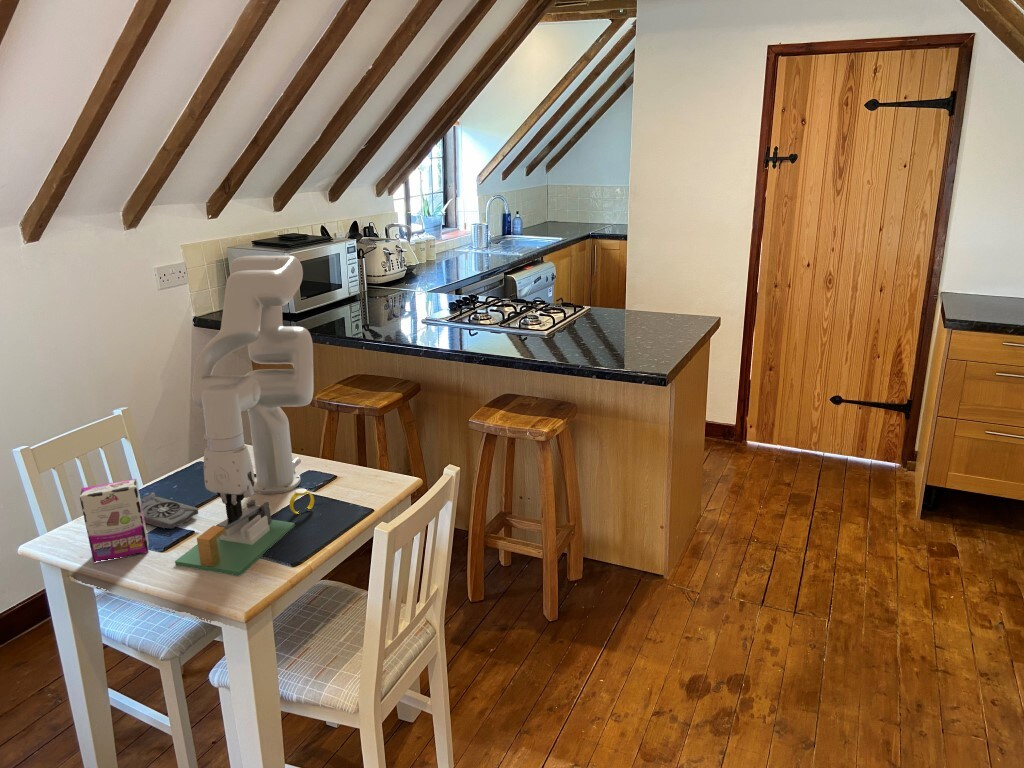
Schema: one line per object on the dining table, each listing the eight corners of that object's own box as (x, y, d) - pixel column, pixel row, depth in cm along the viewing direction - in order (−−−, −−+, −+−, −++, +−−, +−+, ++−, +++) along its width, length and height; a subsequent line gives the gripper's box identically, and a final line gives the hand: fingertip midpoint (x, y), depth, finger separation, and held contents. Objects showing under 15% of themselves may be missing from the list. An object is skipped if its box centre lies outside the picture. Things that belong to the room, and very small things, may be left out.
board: (236, 518, 188) (233, 494, 186) (295, 526, 184) (292, 503, 182) (175, 565, 168) (171, 539, 166) (239, 576, 164) (236, 550, 162)
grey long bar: (255, 507, 184) (255, 503, 183) (264, 508, 183) (263, 504, 183) (216, 529, 170) (215, 524, 170) (225, 530, 169) (225, 526, 169)
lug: (217, 551, 171) (213, 525, 169) (228, 553, 171) (225, 527, 168) (200, 564, 166) (196, 538, 164) (212, 566, 165) (208, 539, 163)
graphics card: (110, 512, 185) (152, 490, 195) (113, 526, 186) (154, 504, 197) (161, 527, 178) (201, 504, 188) (164, 542, 179) (204, 518, 190)
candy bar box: (149, 542, 177) (137, 477, 172) (149, 553, 173) (137, 486, 168) (94, 553, 173) (80, 486, 168) (92, 564, 169) (78, 496, 164)
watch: (310, 507, 194) (309, 485, 192) (316, 511, 192) (315, 489, 190) (288, 514, 190) (287, 491, 188) (293, 518, 188) (293, 495, 186)
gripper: (185, 444, 167) (195, 521, 172) (245, 451, 163) (254, 530, 168) (207, 432, 174) (217, 507, 179) (265, 438, 170) (273, 515, 175)
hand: (235, 518), depth 174 cm, fingers closed
